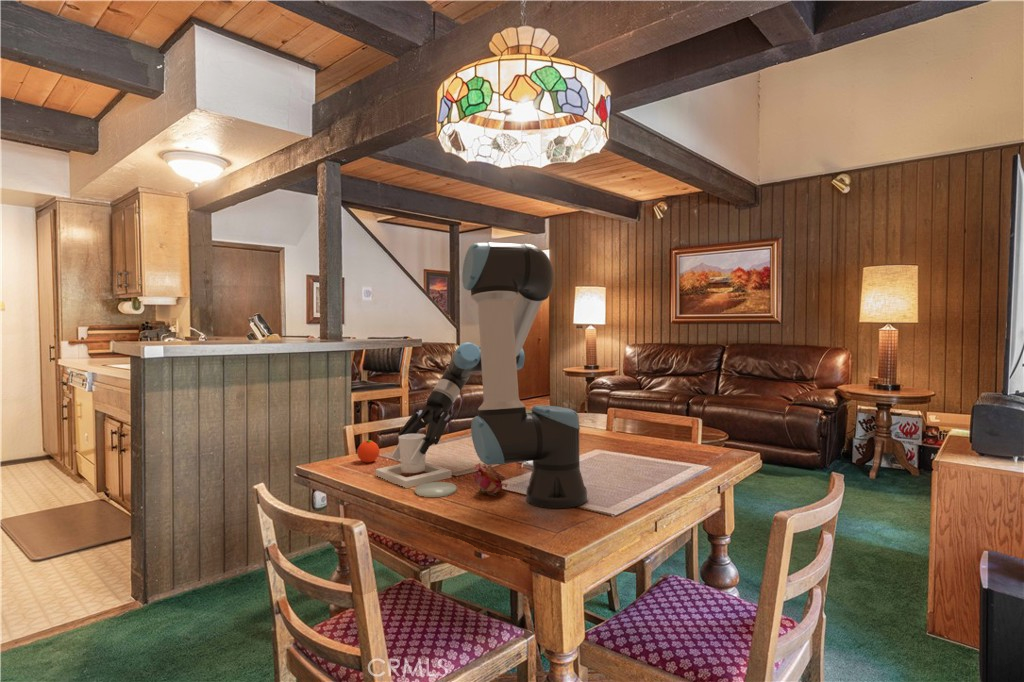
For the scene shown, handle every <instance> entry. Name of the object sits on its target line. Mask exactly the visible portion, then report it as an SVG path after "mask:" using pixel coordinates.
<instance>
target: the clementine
mask: <svg viewBox="0 0 1024 682" xmlns="http://www.w3.org/2000/svg"><path fill="white" fill-rule="evenodd" d="M356 452H357V453H356V455H357V457H358V459H359V460H360V461H362V462H363V463H367V464H368V463H369V464H370V463H373V462H374V461H376V460H377V459H378V457H379V455H380V447H379V446H378V444H377V443H376V442H374V441H373V440H372V439H371V440H364V441H363V442H361V443H360V444H359V446H358V447H357V451H356Z"/></svg>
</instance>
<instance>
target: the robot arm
mask: <svg viewBox="0 0 1024 682" xmlns="http://www.w3.org/2000/svg"><path fill="white" fill-rule="evenodd" d="M461 279H462V280H461V281H462V287H463V288H464V290H467V291H470V297H471V300H473V302H474V303H476V305H477V311H478V313H477V314H478V329H479V344H480V345H479V346H480V347H479V346H478V345H477V344H475V343H472V342H469V341H468V342H467V341H466V342H462V343H461V344H459V346H458V347H457V348H456V350H455V351H454V352H453V355H452V357H451V360H450V362H449V363H448V365H447V366H446V367H447V368H446V369H445V370H444V373H443V375H442V376H441V377H440V379H439V380H438V382H437V383H436V384H435V386H434V388H433V389H432V392H431V393H430V394H429V396H428V397H427V399H426V406H424V407H423V408H422V409H420V410H419V408H416V409H415V410H414V411H413V414H412V415H411V417H410V418H409V419H408V420H407V422H406V423H405V424H404V425H403V427H402V428H401V429H400V430H399V432H398V436H401V435H405V434H418V433H419V431H420V430H421V429H422V428H424V427H426V426H427V425H428V426H427V430H426V434H425V435H426V437H425V438H423V439H424V440H425V441H423V440H422V441H421V443H420V444H419V446H418V447H417V449H416V451H415V452H414V454H413V456H412V457H411V459H410V460H411V461H412V462H413V463H414V464H415V465H418V463H419V461H420V460H421V458H422V456H423V455H424V454H425V453H427V451H428V450H429V448H430V446H432V445H438V444H439V442H440V439H441V437H442V436H443V433H444V431H445V429H446V426H447V424H448V422H450V420H451V419H452V417H451V415H450V414H449V412H450V410H451V408H452V407H453V405H454V403H455V402H456V400H457V398H458V396H459V395H460V393H461V391H462V389H463V388H464V387H465V385H466V383H467V382H468V381H469V378H470V377H471V375H472V374H473V373H481V376H482V377H481V378H482V379H481V380H482V393H483V396H482V397H483V401H482V403H481V405H480V406H478V409H477V415H475V416H474V417H473V418H472V419H471V422H470V423H471V426H470V433H471V434H470V435H471V440H472V444H473V447H474V450H475V451H474V452H475V453H476V455H477V458H479V461H481V463H482V464H483V463H484V464H485V465H486V466H487V465H488V466H490V465H491V466H492V465H500V466H503V465H504V464H512V463H522V462H532V472H531V474H530V478H529V482H528V486H527V487H526V501H527V502H528V504H529V503H530V504H531V505H533V506H536V507H540V508H545V509H558V510H559V509H570V508H575V507H578V506H582V505H584V504H585V503H586V502H587V500H588V490H587V488H586V486H585V484H584V479H583V476H582V473H581V469H580V468H581V467H580V429H581V427H580V420H579V414H578V412H577V411H575V410H573V409H572V408H567V407H562V406H554V405H546V404H545V405H543V404H542V405H541V404H539V405H538V404H537V405H533V406H532V407H531V412H527V410H526V404H525V403H523V402H522V401H521V400H520V397H519V384H518V371H519V370H521V369H522V368H523V367H524V364H525V359H526V358H525V352H524V351H525V350H524V349H523V347H524V345H525V342H526V340H527V337H528V335H529V333H530V330H531V328H532V326H533V324H534V322H535V320H536V317H537V315H538V312H539V311H540V307H541V305H542V304H543V302H544V301H546V300H547V299H548V298H549V296H550V294H551V292H552V290H553V286H554V283H555V276H554V268H553V265H552V262H551V260H550V258H549V257H548V255H547V254H546V253H545V252H544V251H543V250H542V249H541V248H539V247H537V246H535V245H533V244H530V243H513V242H512V243H509V242H490V241H487V242H475V243H472V244H471V245H470V246H468V249H467V251H466V253H465V256H464V261H463V266H462V277H461ZM390 457H391V458H392V459H394V461H396V462H399V460H400V451H399V441H398V443H397V444H396V446H395V449H394V450H393V452H392V453H391V454H390ZM583 503H584V504H583ZM581 504H582V505H581Z"/></svg>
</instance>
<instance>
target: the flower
mask: <svg viewBox="0 0 1024 682" xmlns="http://www.w3.org/2000/svg"><path fill="white" fill-rule="evenodd" d="M474 467H475V469H476V471H475V472H476V473H474V472H472V474H473V483H474V484H475V486H477V487H479V490H478V491H477V492H476V495H478V496H480V495H481V494H482V493H484V494H486V493H487V495H489V496H495V497H496V496H497V493H499V492H501V491H502V490H503V486H504V487H505V488H507V487H508V486H509V484H508V483H505V482H503V481H505V480H506V476H504V475H503V473H501V472H499V471H498V470H497V469H495V468H494V467H493V466H492V465H488V466H487V464H484V463H483V462H482V464H481V463H480V462H479V463H478V464H475V465H474Z"/></svg>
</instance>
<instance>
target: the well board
mask: <svg viewBox="0 0 1024 682" xmlns="http://www.w3.org/2000/svg"><path fill="white" fill-rule="evenodd" d="M423 472H424V473H421V474H416V475H412V476H411V475H410V476H404V475H401V474H405V473H404V472H402V471H401V463H399V464H394V465H390V466H389V465H388V466H385V467H380V468H375V477H377V476H378V477H377V478H379V477H381V478H380V479H382V478H383V479H382V480H384V479H385V480H384V481H387V480H388V481H387V482H389V481H391V482H393V483H392V484H394V483H395V484H394V485H396V484H398V485H397V486H399V485H400V486H399V487H401V486H403V487H402V488H404V487H405V488H404V489H409V488H408V487H411V488H413V487H412V486H415V487H417V485H422V484H425V483H431V482H440V481H442V480H446V479H450V478H452V470H451V469H448V468H445V467H442V466H439V465H435V464H432V463H429V462H427V461H425V470H424V471H423ZM391 482H390V483H391Z"/></svg>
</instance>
